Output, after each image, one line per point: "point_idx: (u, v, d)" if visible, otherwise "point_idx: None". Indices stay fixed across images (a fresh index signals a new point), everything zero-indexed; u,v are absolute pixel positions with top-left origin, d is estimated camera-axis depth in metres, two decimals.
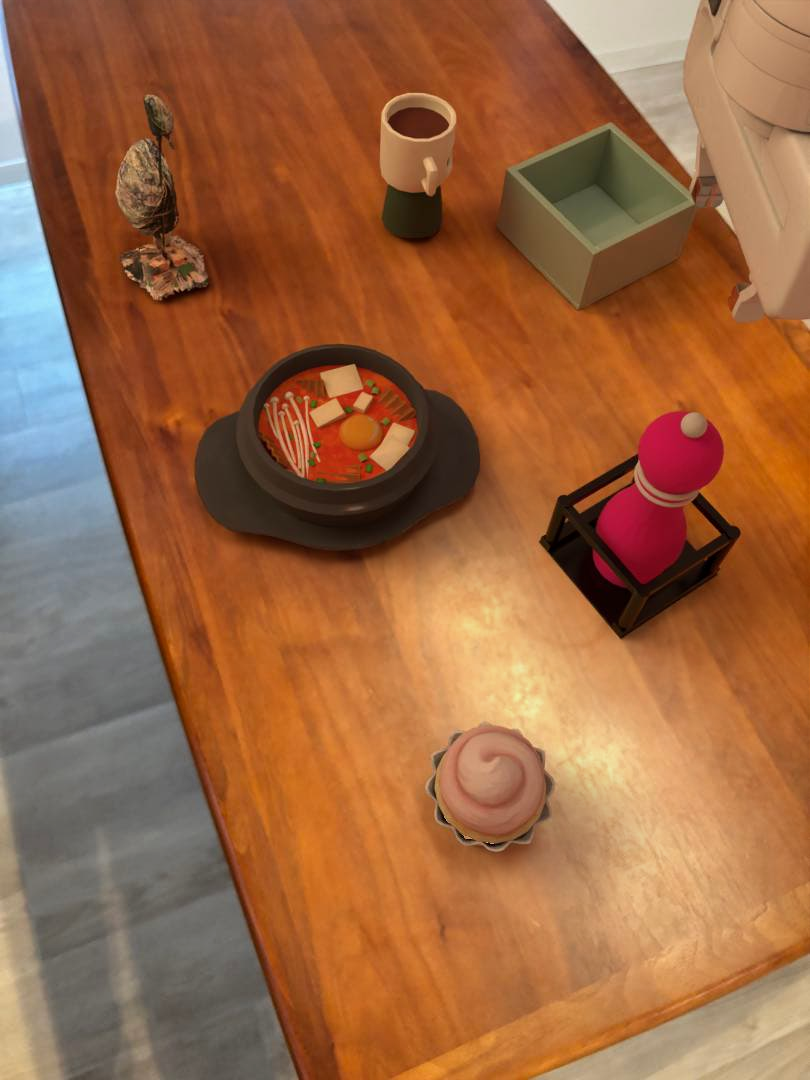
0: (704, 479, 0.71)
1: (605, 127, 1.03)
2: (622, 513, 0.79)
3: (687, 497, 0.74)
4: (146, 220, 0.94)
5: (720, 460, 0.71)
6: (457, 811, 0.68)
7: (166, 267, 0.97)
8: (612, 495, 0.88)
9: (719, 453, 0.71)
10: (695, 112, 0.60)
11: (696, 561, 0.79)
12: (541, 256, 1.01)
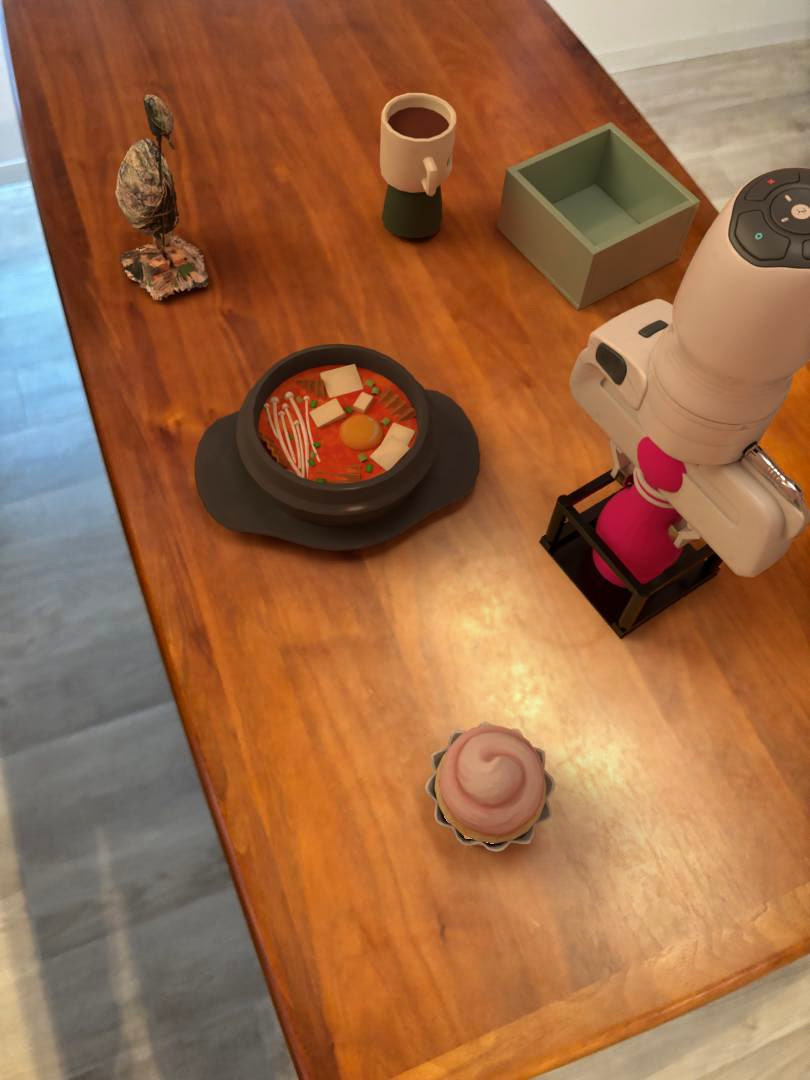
0: None
1: (605, 127, 1.03)
2: (621, 514, 0.79)
3: None
4: (146, 220, 0.94)
5: None
6: (457, 811, 0.68)
7: (166, 267, 0.97)
8: (612, 495, 0.88)
9: None
10: (597, 421, 0.76)
11: (696, 561, 0.79)
12: (541, 256, 1.01)
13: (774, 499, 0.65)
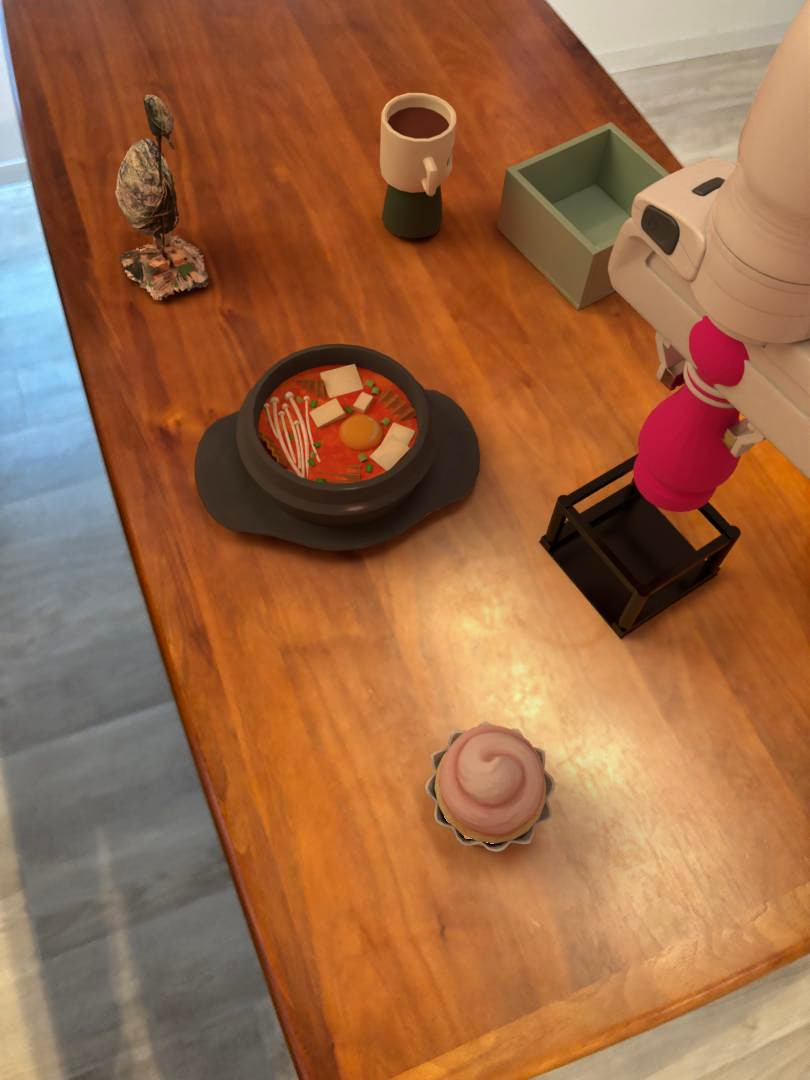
0: None
1: (605, 127, 1.03)
2: (668, 421, 0.69)
3: None
4: (146, 220, 0.94)
5: None
6: (457, 811, 0.68)
7: (166, 267, 0.97)
8: (612, 495, 0.88)
9: None
10: (641, 310, 0.66)
11: (696, 561, 0.79)
12: (541, 256, 1.01)
13: None
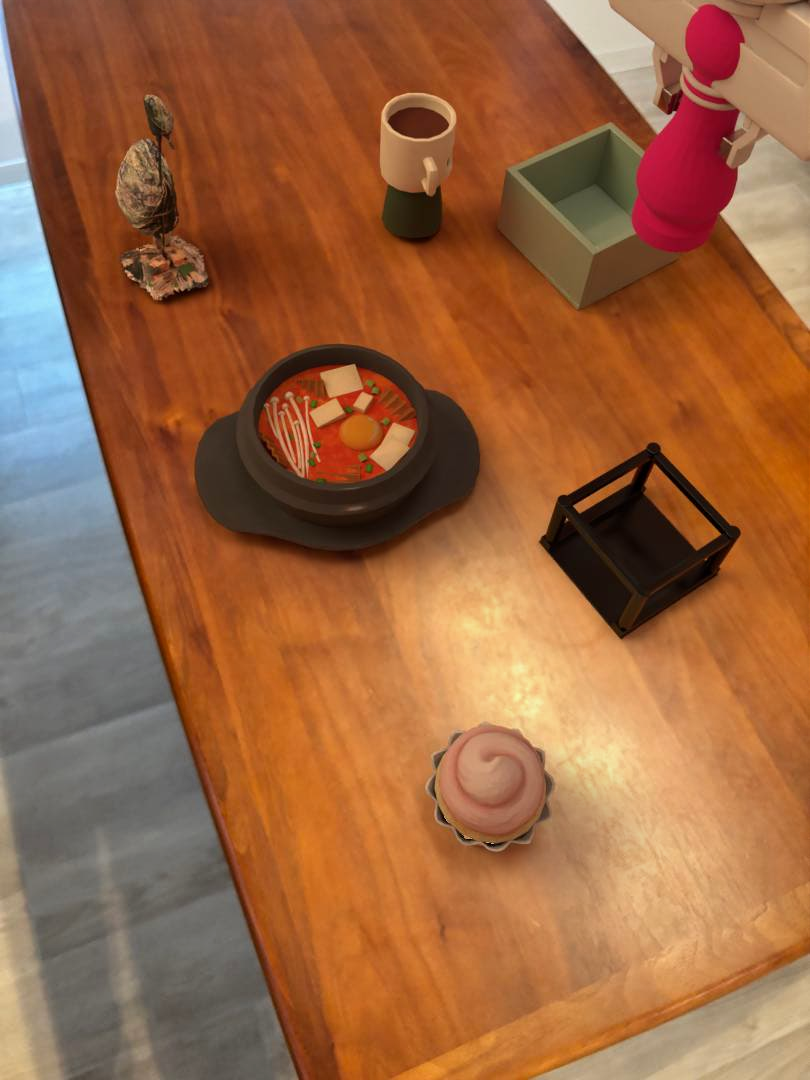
0: None
1: (605, 127, 1.03)
2: (666, 143, 0.71)
3: None
4: (146, 220, 0.94)
5: None
6: (457, 811, 0.68)
7: (166, 267, 0.97)
8: (612, 495, 0.88)
9: None
10: (638, 22, 0.68)
11: (696, 561, 0.79)
12: (541, 256, 1.01)
13: None
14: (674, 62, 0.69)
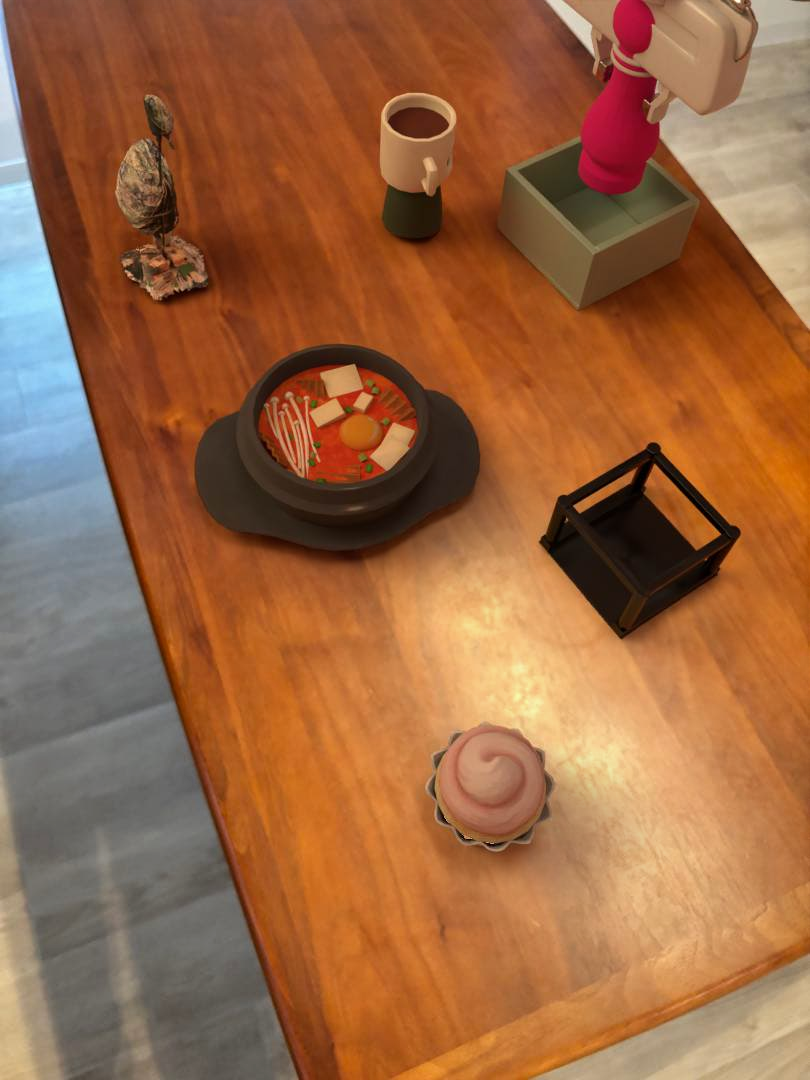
0: None
1: None
2: (601, 104, 0.90)
3: None
4: (146, 220, 0.94)
5: None
6: (457, 811, 0.68)
7: (166, 267, 0.97)
8: (612, 495, 0.88)
9: None
10: (579, 8, 0.87)
11: (696, 561, 0.79)
12: (541, 256, 1.01)
13: (727, 17, 0.76)
14: (608, 40, 0.89)
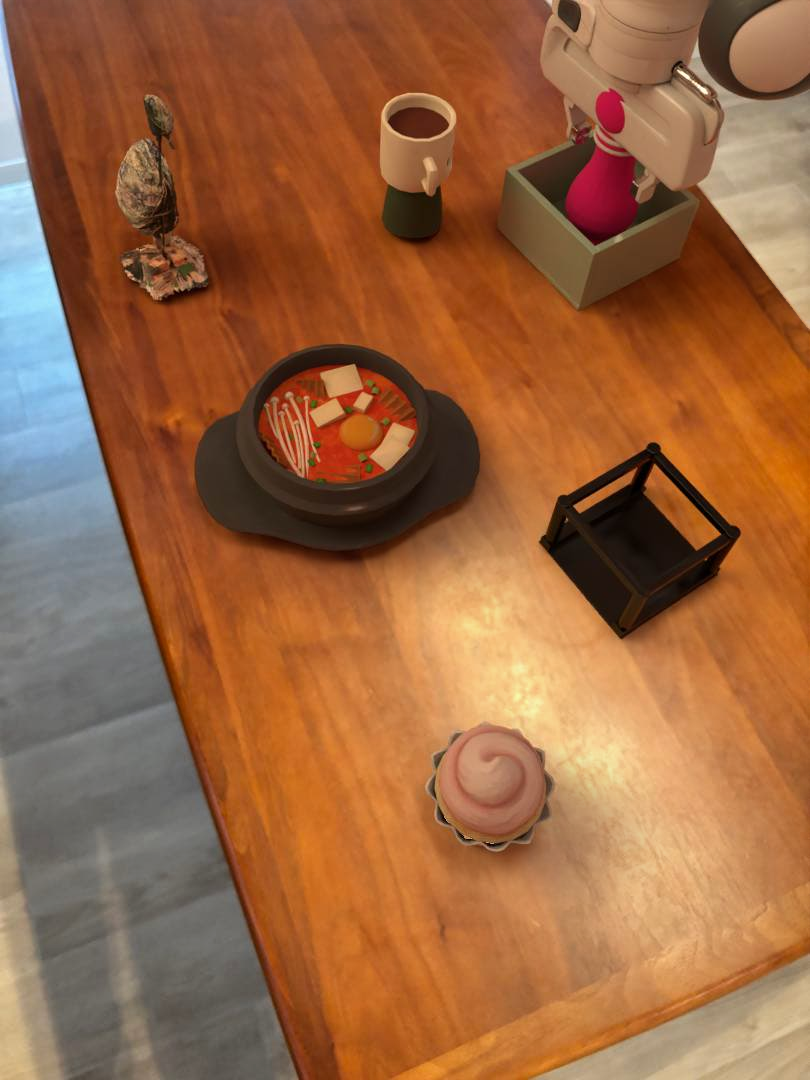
0: None
1: None
2: (585, 178, 0.97)
3: None
4: (146, 220, 0.94)
5: None
6: (457, 811, 0.68)
7: (166, 267, 0.97)
8: (612, 495, 0.88)
9: None
10: (562, 88, 0.94)
11: (696, 561, 0.79)
12: (541, 256, 1.01)
13: (696, 106, 0.83)
14: (580, 107, 0.96)
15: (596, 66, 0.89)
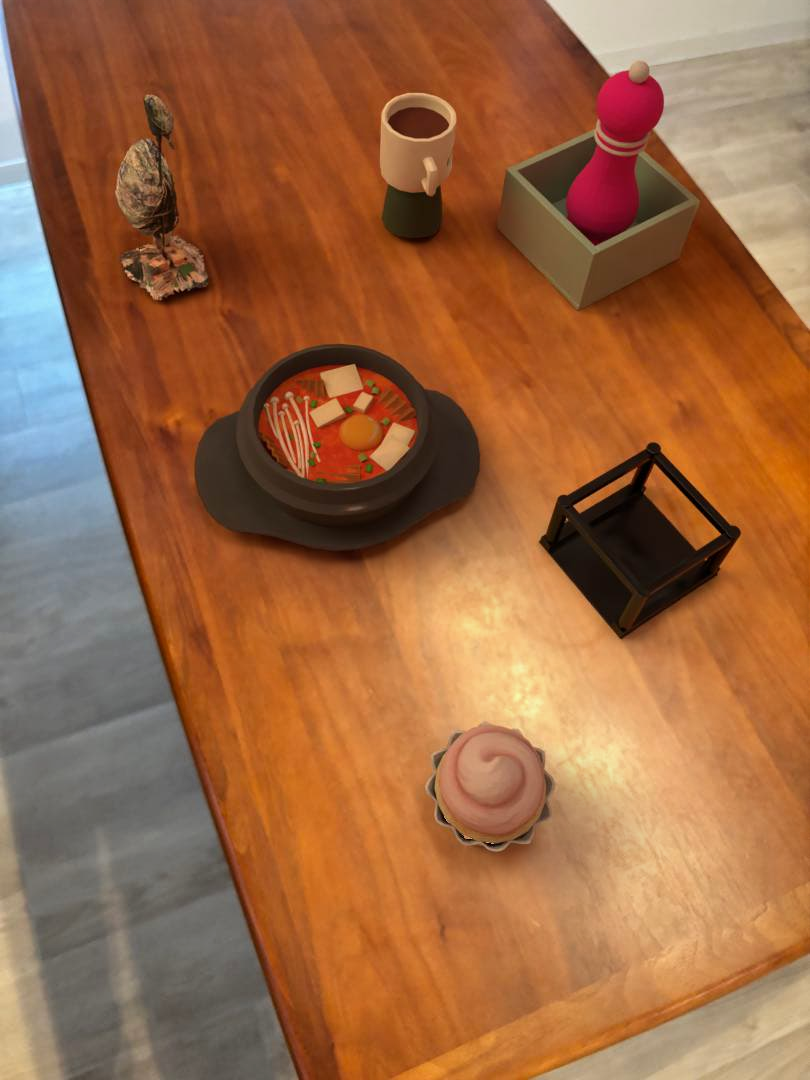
0: (648, 119, 0.89)
1: None
2: (585, 178, 0.97)
3: (636, 145, 0.92)
4: (146, 220, 0.94)
5: (660, 105, 0.89)
6: (457, 811, 0.68)
7: (166, 267, 0.97)
8: (612, 495, 0.88)
9: (659, 97, 0.89)
10: None
11: (696, 561, 0.79)
12: (541, 256, 1.01)
13: None
14: None
15: None
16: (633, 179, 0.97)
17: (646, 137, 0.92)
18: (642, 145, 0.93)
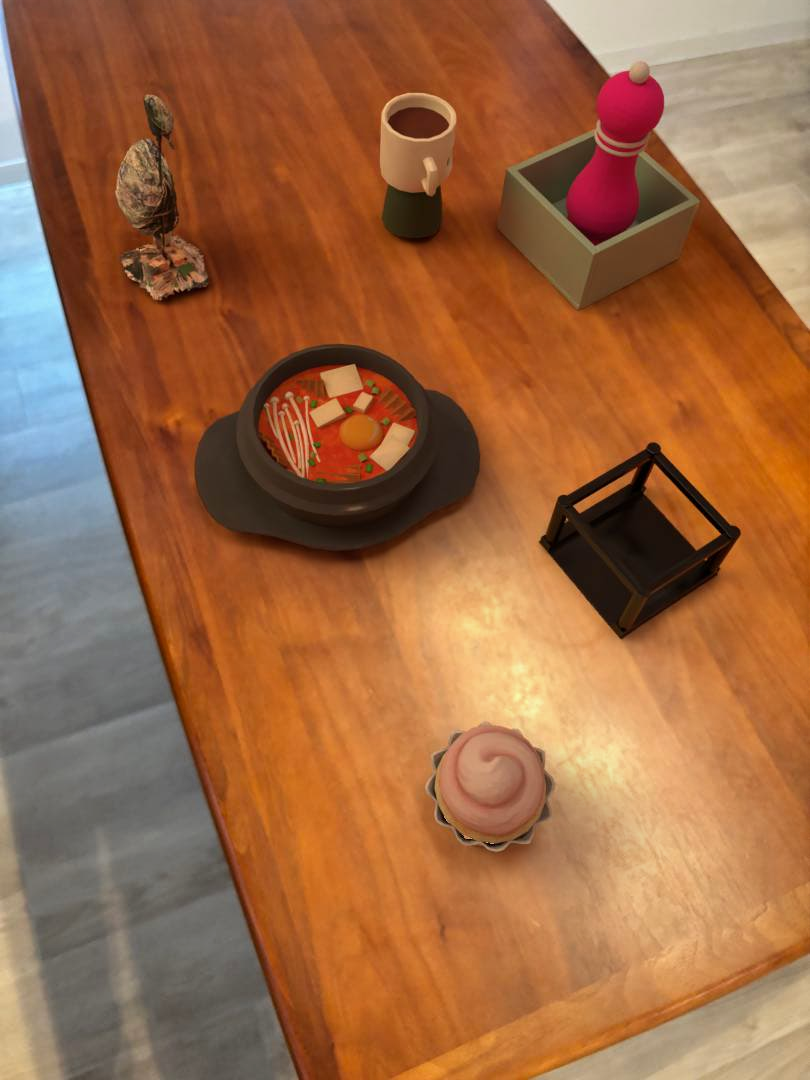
0: (648, 119, 0.89)
1: None
2: (585, 178, 0.97)
3: (636, 145, 0.92)
4: (146, 220, 0.94)
5: (661, 105, 0.89)
6: (457, 811, 0.68)
7: (166, 267, 0.97)
8: (612, 495, 0.88)
9: (659, 98, 0.89)
10: None
11: (696, 561, 0.79)
12: (541, 256, 1.01)
13: None
14: None
15: None
16: (633, 179, 0.97)
17: (646, 137, 0.92)
18: (642, 145, 0.93)
